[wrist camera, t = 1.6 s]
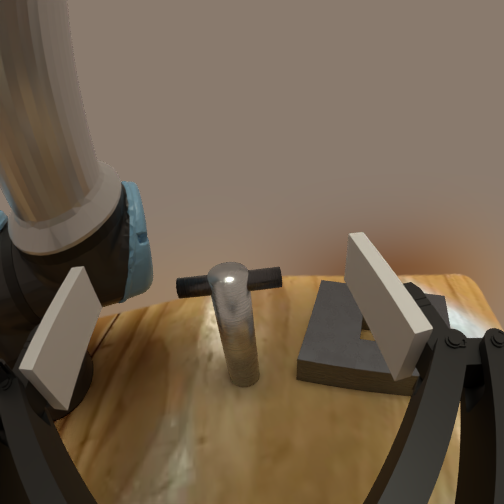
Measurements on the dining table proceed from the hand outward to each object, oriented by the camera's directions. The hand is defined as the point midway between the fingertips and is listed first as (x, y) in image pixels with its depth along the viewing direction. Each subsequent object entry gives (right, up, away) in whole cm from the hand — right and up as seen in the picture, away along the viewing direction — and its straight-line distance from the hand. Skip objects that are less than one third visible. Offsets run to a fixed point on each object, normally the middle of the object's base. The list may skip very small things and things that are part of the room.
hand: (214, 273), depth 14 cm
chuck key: (+1, -13, +20) cm, 24 cm away
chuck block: (+18, -11, +21) cm, 30 cm away
